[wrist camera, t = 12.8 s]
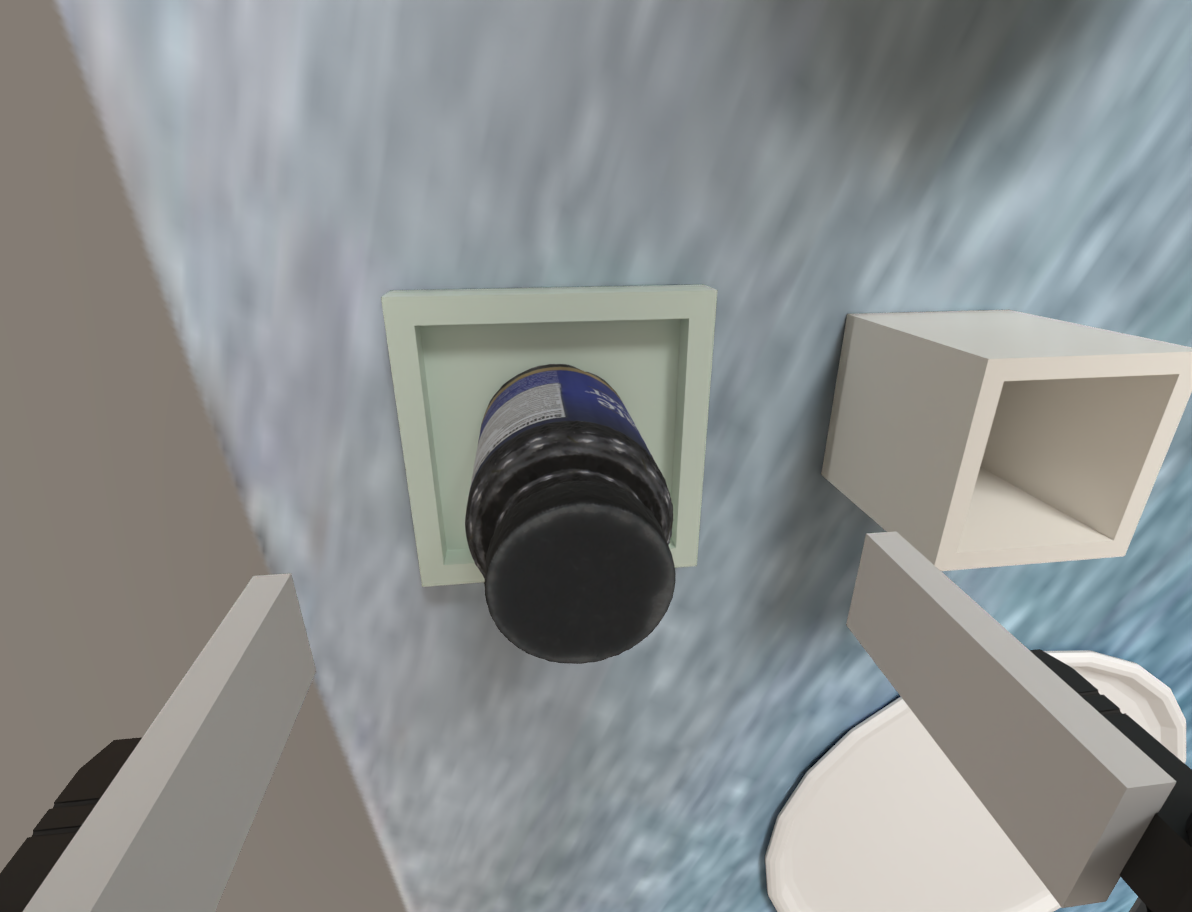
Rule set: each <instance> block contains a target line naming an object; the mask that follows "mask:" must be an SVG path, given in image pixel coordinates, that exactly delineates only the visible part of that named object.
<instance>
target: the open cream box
mask: <svg viewBox="0 0 1192 912" xmlns="http://www.w3.org/2000/svg"><path fill="white" fill-rule="evenodd" d="M1191 392H1192V348H1191V347H1186V346H1182V345H1177V344H1172V343H1167V342H1162V341H1157V340H1153V339H1148V338H1143V337H1138V336H1133V335H1128V334H1124V333H1119V332H1114V331H1109V330H1104V329H1099V328H1095V327H1090V326H1085V325H1080V324H1075V323H1070V322H1066V321H1061V320H1056V319H1051V318H1046V317H1041V316H1037V315H1032V314H1027V313H1022V312H1017V311H1012V310H977V311H939V312H900V313H861V314H847V319H846V325H845V331H844V337H843V343H842V350H841V356H840V362H839V368H838V374H837V380H836V387H835V393H834V399H833V405H832V411H831V418H830V424H829V430H828V436H827V442H826V448H825V455H824V461H823V467H822V473H821V475H822V476H823V477H825V478H826V479H827V480H828V481H829V482H830V483H831V484H833V485H834V486H835V487H836V488H837V489H838V490H839V491H841V492H842V493H843V494H844V495H845V496H846V497H847V498H849V499H850V500H851V501H852V502H853V503H854V504H856V505H857V506H858V507H859V508H860V509H861V510H862V511H864V512H865V513H866V514H867V515H868V516H869V517H870V518H872V519H873V520H874V521H875V522H876V523H877V524H878V525H880V526H881V527H882V528H883V529H884V530H885V531H887V532H895V531H896V532H897V533H899V534H900V535H901V536H902V537H903V538H904V539H905V540H906V541H907V542H909V543H910V544H911V545H912V546H913V547H914V548H915V549H916V550H918V551H919V552H920V553H921V554H922V555H923V556H924V557H925V558H927V559H928V560H929V561H930V562H931V563H932V564H933V565H934V566H935V567H937V568H938V569H939V570H940V571H949V570H961V569H973V568H986V567H998V566H1010V565H1023V564H1035V563H1047V562H1059V561H1072V560H1084V559H1096V558H1109V557H1121V556H1125V554H1126V551H1127V549H1128V546H1129V544H1130V542H1131V539H1132V537H1133V534H1134V532H1135V529H1136V527H1137V524H1138V522H1139V520H1140V517H1141V515H1142V512H1143V510H1144V507H1145V505H1146V502H1147V500H1148V497H1149V495H1150V493H1151V490H1152V488H1153V485H1154V483H1155V480H1156V478H1157V475H1158V473H1159V471H1160V468H1161V466H1162V463H1163V461H1164V458H1165V456H1166V453H1167V451H1168V449H1169V446H1170V444H1171V441H1172V439H1173V436H1174V434H1175V431H1176V429H1177V427H1178V424H1179V422H1180V419H1181V417H1182V414H1183V412H1184V409H1185V407H1186V404H1187V402H1188V400H1189V397H1190V395H1191Z"/></svg>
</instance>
